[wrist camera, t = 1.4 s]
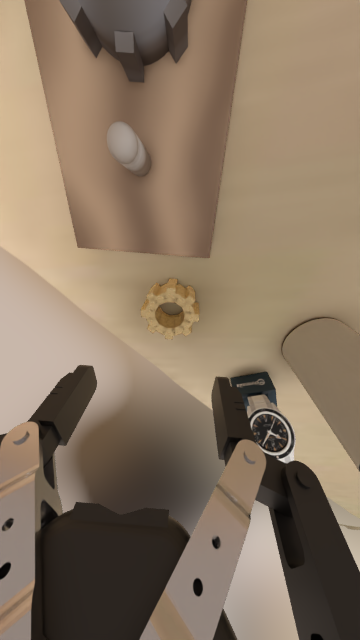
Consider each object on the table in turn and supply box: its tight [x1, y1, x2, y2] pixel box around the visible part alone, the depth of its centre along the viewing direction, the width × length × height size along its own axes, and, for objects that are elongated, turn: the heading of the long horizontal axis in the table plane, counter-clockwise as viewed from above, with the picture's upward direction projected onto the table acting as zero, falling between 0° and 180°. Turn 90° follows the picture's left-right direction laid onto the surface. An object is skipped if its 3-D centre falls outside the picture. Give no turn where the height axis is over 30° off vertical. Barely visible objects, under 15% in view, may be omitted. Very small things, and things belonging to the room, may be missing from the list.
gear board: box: [25, 0, 247, 258], centre depth 11 cm, size 13×20×6 cm, turn 176°
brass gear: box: [141, 279, 199, 339], centre depth 20 cm, size 6×6×3 cm
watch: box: [230, 372, 296, 464], centre depth 24 cm, size 6×8×11 cm
